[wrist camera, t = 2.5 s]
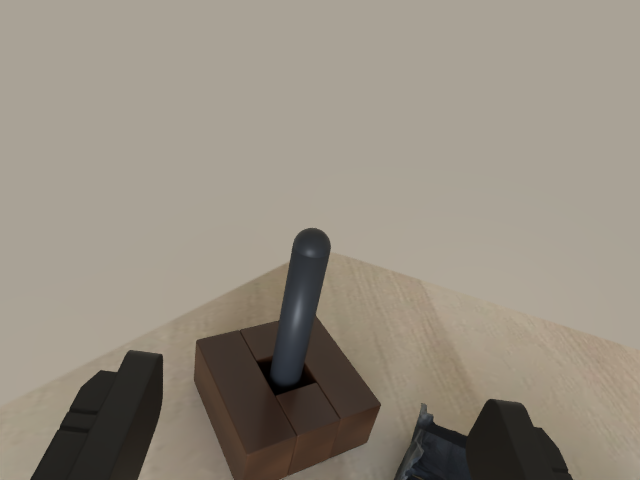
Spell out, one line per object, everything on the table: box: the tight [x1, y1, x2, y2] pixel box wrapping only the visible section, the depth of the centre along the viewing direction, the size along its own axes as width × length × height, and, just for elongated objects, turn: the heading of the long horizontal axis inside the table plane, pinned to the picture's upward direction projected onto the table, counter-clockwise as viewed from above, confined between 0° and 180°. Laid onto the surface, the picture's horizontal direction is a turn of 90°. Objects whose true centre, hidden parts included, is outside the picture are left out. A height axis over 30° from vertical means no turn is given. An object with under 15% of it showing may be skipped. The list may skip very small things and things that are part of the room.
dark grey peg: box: [268, 228, 331, 397], centre depth 26 cm, size 2×2×13 cm
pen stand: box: [194, 315, 381, 480], centre depth 28 cm, size 8×8×4 cm
